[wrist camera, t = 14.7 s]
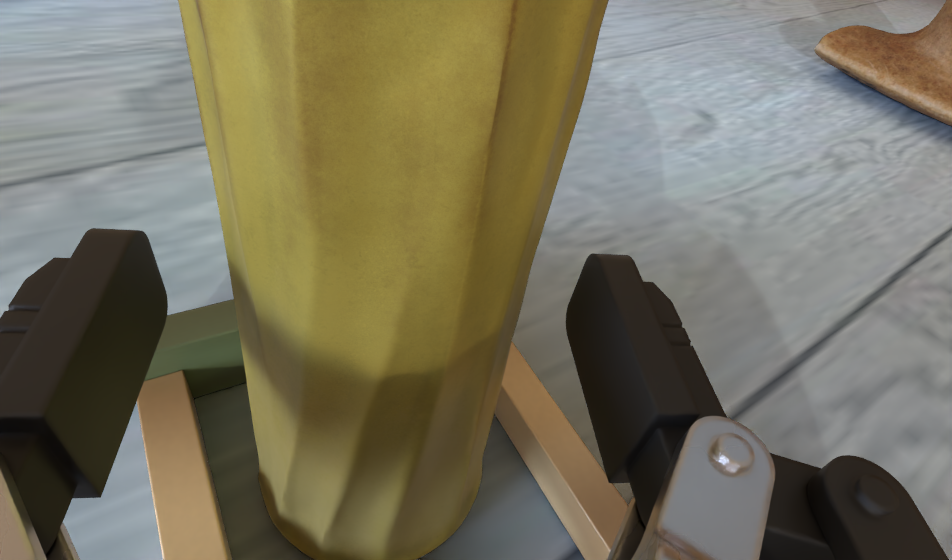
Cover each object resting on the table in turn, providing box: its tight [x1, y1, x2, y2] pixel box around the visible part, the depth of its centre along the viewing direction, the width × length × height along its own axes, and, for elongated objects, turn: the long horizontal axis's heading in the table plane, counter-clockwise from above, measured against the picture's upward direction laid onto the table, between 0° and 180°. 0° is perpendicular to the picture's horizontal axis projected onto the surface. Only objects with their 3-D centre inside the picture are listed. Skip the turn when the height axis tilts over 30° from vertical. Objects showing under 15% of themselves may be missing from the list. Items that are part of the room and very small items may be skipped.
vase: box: [178, 0, 609, 560], centre depth 11 cm, size 6×6×14 cm
